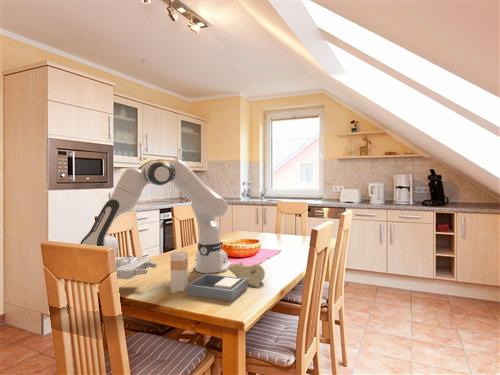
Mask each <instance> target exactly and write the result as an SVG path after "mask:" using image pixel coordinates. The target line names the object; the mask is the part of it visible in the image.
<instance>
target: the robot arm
mask: <svg viewBox="0 0 500 375" xmlns="http://www.w3.org/2000/svg"><path fill="white" fill-rule="evenodd" d="M170 182H171V183H173V184H174V186H175V187H176V188H177V189H178V190H179V191H180V192H181V193H182V194H183V195H184V197H186V199H188V200H190V201H191V205H190V206H191V209H192V211H193V212H194V215H195V219H196V224H197V228H198V229H197V230H198V232H197V233H198V243H197V251H196V253H195V263H194V264H195V265H193V269H194V270H195V271H196V272H198V273H200V274H201V273H202V274H214V273H221V272H226V271H228V270H229V268H228V267H229V266H231V265H233V263H232V261H229V260H228V259H229V258H228V253H227V252H226V251H225V250H223V247H222V246H223V245H224V241H221V234H220V233H221V231H220V230H221V229H220V226H219V224H218V223H217V222H218V221H217V219H216V218H218V217H224V215H226V214H227V212H228V207H229V205H228V202H227V200H226V199H225V198H224V197H221V196H220V195H218V194H217V192H215V191H214V190H213V189H211V188H210V187H209V186H207V184H205V183H204V182H203V181H202V180H201V179H200V178H199V176H198V175H197V174H196V173H195V172H194V171H193V170H192V168H191V167H190V166H188V165H187V164H186V163H185V162H183V161H182V160H180V159H178V158H177V159H172V160H171V161H169V162H168V163H167V162H163V161H159V160H148V161H146V162H144V163H143V164H141V166H139V167H138V168H136V167H128V168H126V169H125V170H124V171H123V173H122V174H121V176H120V178H119V180H118V182H117V183H116V186H115V188H114V190H113V192H112V194H111V196H110V198H109V199H108V201H106V202H105V203H104V205H103V207H102V209H101V210H100V212H99V213H98V215H97V217H96V219H95V222H94V223H93V225H92V227H91V228H90V230H89V232H88V233H87V234H86V235H85V236H84V237H83V238H82V239H81V241H80V243H79V245H80V244H86V245H97V246H107V247H112V248H114V249H115V257H116V271H117V278H116V279H119V280H120V279H121V280H130V279H132V278H134V277H136V276H139V275H140V276H141V275H146V274H148V268H151V269H155V268H156V267H157V264H158V263H156V262H151V258H148V257H142V256H140V257H139V256H137V257H136V256H135V257H134V255H126V256H118V251H119V247H120V246H119V241H118V239H117V238H116V237H115V236H114V235H107V234H108V232H109V230H110V228H111V226H112V224H113V223H114V221H115V220H116V218H117V217H119V216H120V215H123V214H124V213H127V212H130V211H131V210H133V209H134V208H135V207H136V205H137V204H138V202H139V199H140V197H141V195H142V193H143V190H144V188H145V187H146V186H147V185H148V184H151V185H155V186H164V185H166V184H168V183H170Z"/></svg>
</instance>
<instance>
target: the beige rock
mask: <svg viewBox="0 0 500 375" xmlns="http://www.w3.org/2000/svg"><path fill="white" fill-rule="evenodd" d="M228 270H229V271H230V273H232V274H233V275H234V276H235V277H238V278H246V279H248V287H253V288H260V287H261V286H260V284H261V282H263V280H264V279H265V272H266V271H265V268H264V267H263V266H261V265H260V264H259V263H258V264H257V263H255V264H253V265H244V264H243V261H242V262H239V263H235V264H231V266H229V267H228Z"/></svg>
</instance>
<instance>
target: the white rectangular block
mask: <svg viewBox="0 0 500 375" xmlns="http://www.w3.org/2000/svg"><path fill="white" fill-rule="evenodd" d="M239 283H240V279H236V278H227V277H225V278H223V279H222V280H221V281H219V282H218V283H216V284H215V285H214V288H219V289H226V290H231V289H233V288H234V287H235V286H236V285H238V284H239Z"/></svg>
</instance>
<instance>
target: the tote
mask: <svg viewBox="0 0 500 375" xmlns="http://www.w3.org/2000/svg"><path fill="white" fill-rule="evenodd" d="M225 277H227V278H236V279H240V283H239V284H238V285H236V286H235V287H234V288H233V289H231V290H226V289H219V288H214V285H215V284H216V283H218V282H219V281H221V280H222V279H223V278H225ZM248 287H249V285H248V279H246V278H238V277H236V276H230V275H229V276H228V275H219V274H214V273H204V274H203V275H201V276H199V277H197V278H196V279H194V280H193V281H191V282H188V284H187V285H186V289H185V290H186V296H191V297H197V298H203V299H204V298H205V299H210V300H211V299H212V300H218V301H222V302H223V301H224V302H231V303H232V302H233V301H235V299H237V298H238V297H239V296H241V295H242V293H244V292H245V291H246V290H247V289H248Z"/></svg>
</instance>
